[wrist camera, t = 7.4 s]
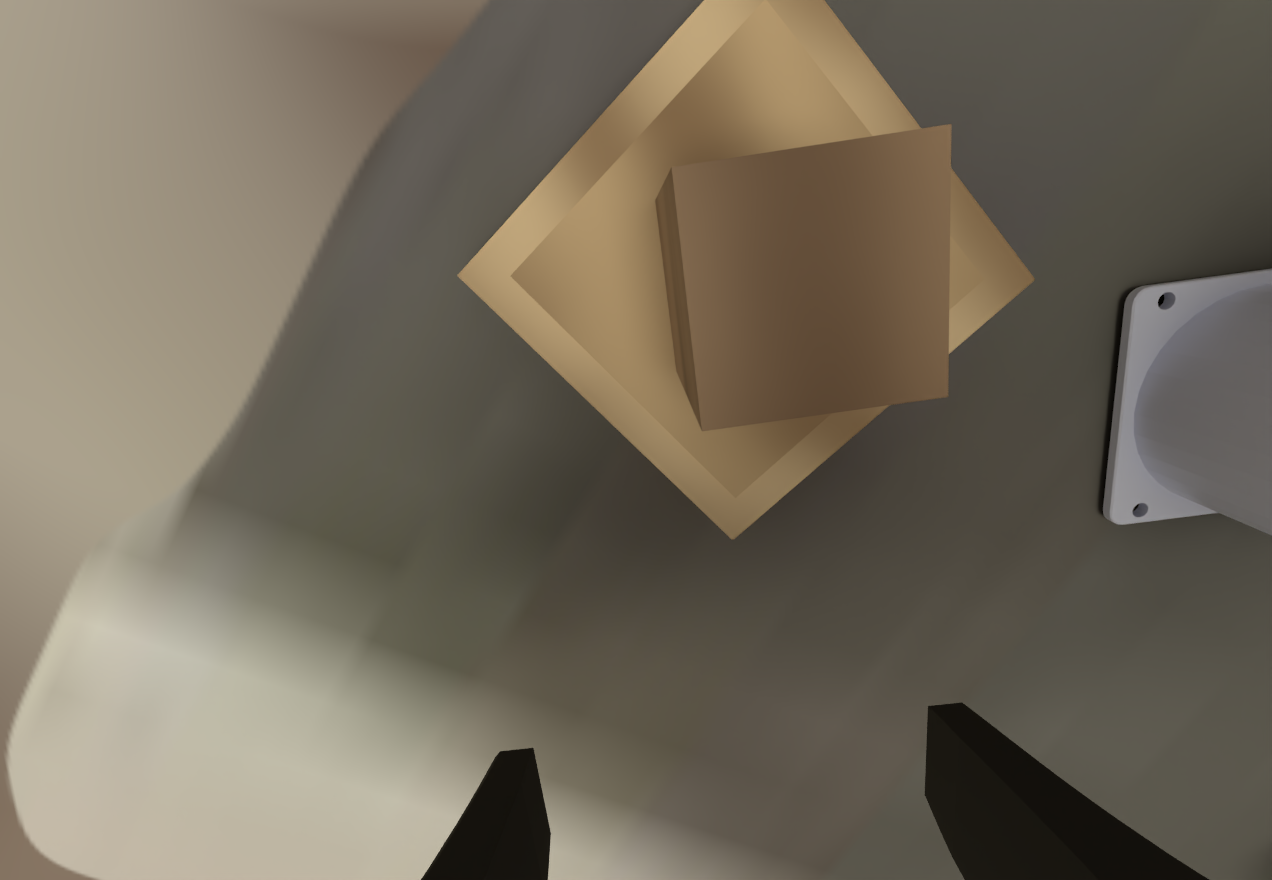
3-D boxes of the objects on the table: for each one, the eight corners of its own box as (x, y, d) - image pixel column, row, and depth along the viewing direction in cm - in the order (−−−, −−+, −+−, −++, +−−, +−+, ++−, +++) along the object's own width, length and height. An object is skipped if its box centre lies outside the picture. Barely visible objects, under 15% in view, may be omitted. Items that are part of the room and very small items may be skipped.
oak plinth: (748, -24, 16) (769, -74, 14) (982, 276, 19) (1036, 279, 16) (479, 273, 18) (456, 275, 16) (720, 507, 21) (733, 541, 18)
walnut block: (829, 173, 15) (950, 123, 10) (837, 348, 17) (947, 397, 11) (655, 200, 15) (671, 167, 10) (676, 371, 17) (701, 431, 11)
